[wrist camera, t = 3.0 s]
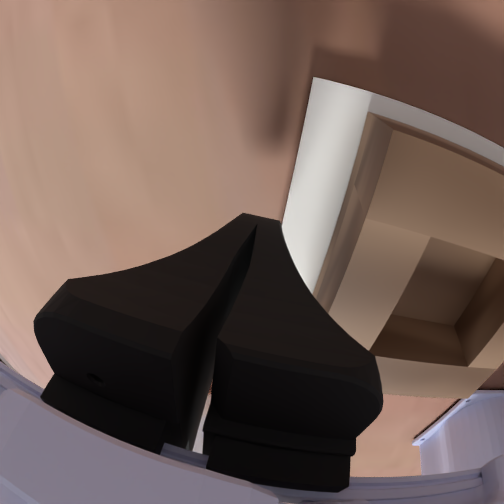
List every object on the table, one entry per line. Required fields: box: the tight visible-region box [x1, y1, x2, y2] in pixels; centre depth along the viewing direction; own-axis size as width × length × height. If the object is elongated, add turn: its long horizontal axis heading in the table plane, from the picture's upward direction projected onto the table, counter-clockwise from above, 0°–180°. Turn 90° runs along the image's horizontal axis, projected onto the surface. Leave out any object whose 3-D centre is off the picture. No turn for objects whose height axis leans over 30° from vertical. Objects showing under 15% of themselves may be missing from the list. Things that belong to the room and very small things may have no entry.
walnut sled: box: [312, 112, 504, 399], centre depth 10 cm, size 10×9×4 cm
